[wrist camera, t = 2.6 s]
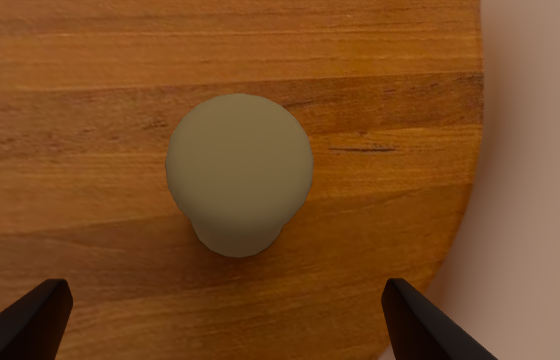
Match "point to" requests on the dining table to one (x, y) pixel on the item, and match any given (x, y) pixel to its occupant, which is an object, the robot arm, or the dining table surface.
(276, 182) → the tan peg doll
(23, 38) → the dining table surface
